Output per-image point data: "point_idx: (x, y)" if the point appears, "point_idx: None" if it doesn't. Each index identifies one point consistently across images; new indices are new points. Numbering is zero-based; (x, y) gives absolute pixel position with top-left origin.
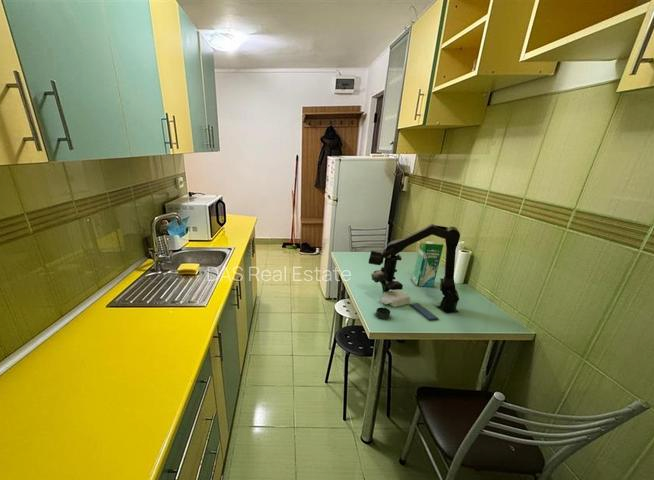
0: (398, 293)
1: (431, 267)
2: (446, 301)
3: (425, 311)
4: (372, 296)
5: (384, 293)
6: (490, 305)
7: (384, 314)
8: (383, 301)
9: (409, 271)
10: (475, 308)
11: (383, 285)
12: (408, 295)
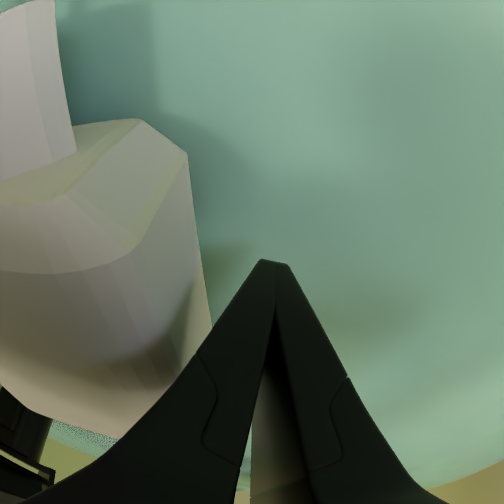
0: (45, 391)
1: None
2: None
3: None
4: (412, 74)
5: (42, 221)
6: (87, 452)
7: None
8: None
9: (413, 472)
10: (61, 433)
11: (303, 485)
12: (22, 403)
